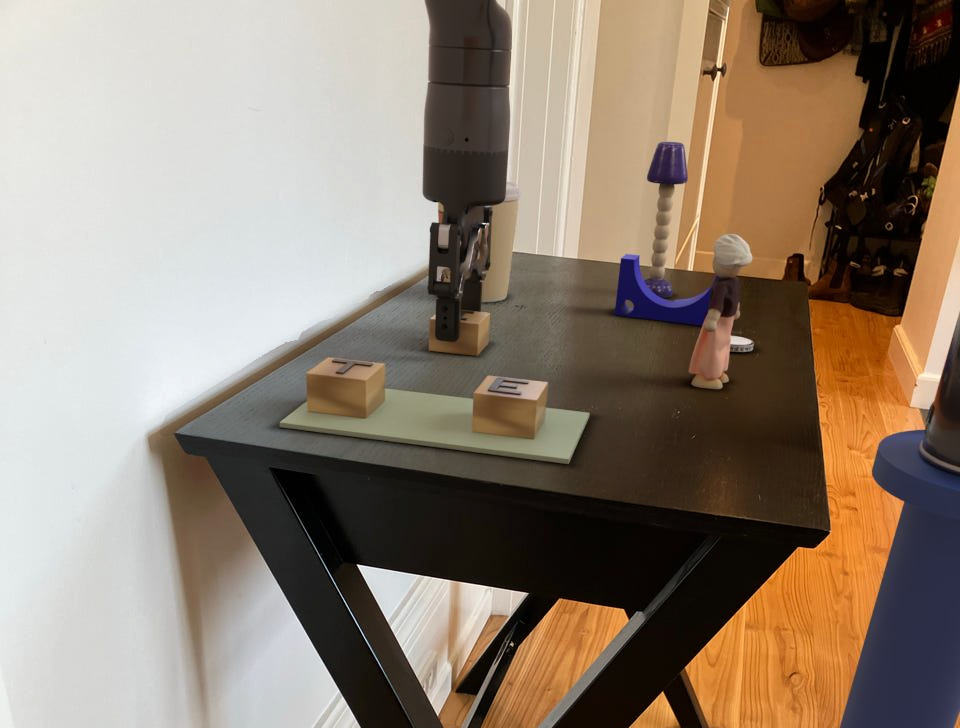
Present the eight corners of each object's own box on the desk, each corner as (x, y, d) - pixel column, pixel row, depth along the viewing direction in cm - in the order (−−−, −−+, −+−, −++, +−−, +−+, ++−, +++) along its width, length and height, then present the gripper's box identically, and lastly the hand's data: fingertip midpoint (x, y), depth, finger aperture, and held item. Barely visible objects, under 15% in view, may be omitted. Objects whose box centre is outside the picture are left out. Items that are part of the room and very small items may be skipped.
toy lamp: (663, 300, 120) (684, 145, 111) (627, 294, 122) (645, 141, 113) (677, 294, 123) (698, 143, 115) (642, 288, 125) (660, 139, 117)
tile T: (385, 400, 81) (385, 361, 79) (366, 418, 77) (365, 378, 75) (329, 393, 82) (328, 355, 80) (307, 411, 78) (305, 371, 76)
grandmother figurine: (692, 369, 94) (715, 225, 88) (733, 375, 93) (759, 230, 87) (681, 392, 88) (704, 239, 82) (725, 398, 87) (752, 243, 81)
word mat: (589, 417, 81) (589, 412, 81) (568, 464, 72) (568, 459, 71) (330, 386, 85) (330, 381, 84) (279, 427, 75) (279, 422, 75)
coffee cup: (437, 284, 121) (439, 175, 115) (514, 288, 121) (521, 180, 115) (430, 301, 113) (433, 186, 107) (513, 306, 113) (520, 191, 107)
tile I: (488, 343, 99) (490, 311, 97) (477, 356, 95) (479, 322, 93) (441, 338, 100) (442, 306, 98) (428, 350, 96) (429, 317, 94)
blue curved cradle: (727, 319, 113) (736, 263, 110) (722, 327, 109) (732, 270, 106) (622, 306, 116) (628, 251, 113) (614, 314, 112) (620, 258, 109)
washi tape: (753, 353, 100) (754, 347, 100) (712, 349, 101) (714, 343, 100) (752, 343, 104) (753, 337, 103) (713, 339, 104) (714, 333, 104)
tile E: (545, 419, 79) (548, 380, 77) (534, 439, 75) (537, 398, 73) (485, 412, 79) (487, 373, 78) (471, 431, 75) (473, 391, 74)
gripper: (490, 153, 82) (479, 353, 90) (523, 140, 94) (511, 317, 102) (401, 146, 83) (399, 343, 91) (445, 134, 95) (440, 310, 103)
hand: (458, 329), depth 97 cm, fingers open, 8 cm apart
